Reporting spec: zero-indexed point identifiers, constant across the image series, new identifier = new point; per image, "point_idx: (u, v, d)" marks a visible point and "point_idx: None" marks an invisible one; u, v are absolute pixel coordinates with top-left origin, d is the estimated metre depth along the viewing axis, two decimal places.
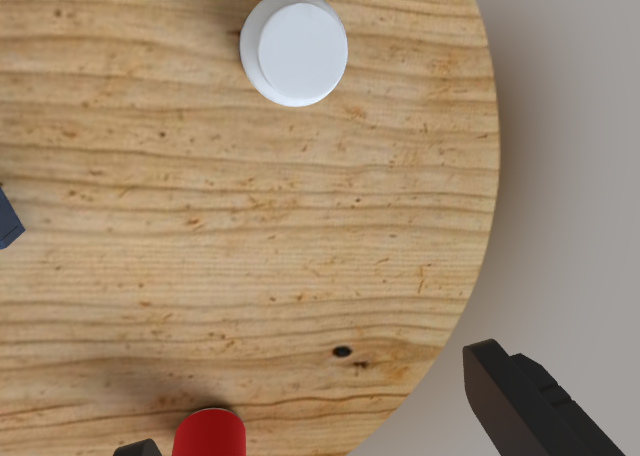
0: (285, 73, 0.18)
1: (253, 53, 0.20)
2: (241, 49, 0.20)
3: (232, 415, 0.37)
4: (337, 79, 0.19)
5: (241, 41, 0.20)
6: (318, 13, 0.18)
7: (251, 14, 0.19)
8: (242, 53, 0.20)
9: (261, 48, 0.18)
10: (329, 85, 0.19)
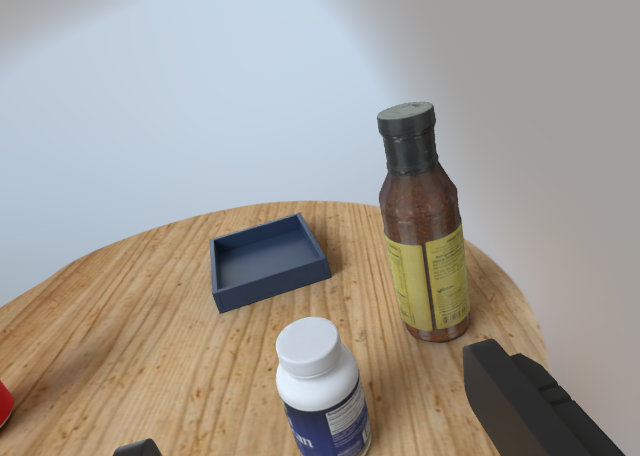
0: (293, 331, 0.26)
1: None
2: None
3: None
4: (289, 359, 0.24)
5: None
6: (332, 340, 0.25)
7: None
8: None
9: (308, 318, 0.27)
10: (285, 355, 0.25)
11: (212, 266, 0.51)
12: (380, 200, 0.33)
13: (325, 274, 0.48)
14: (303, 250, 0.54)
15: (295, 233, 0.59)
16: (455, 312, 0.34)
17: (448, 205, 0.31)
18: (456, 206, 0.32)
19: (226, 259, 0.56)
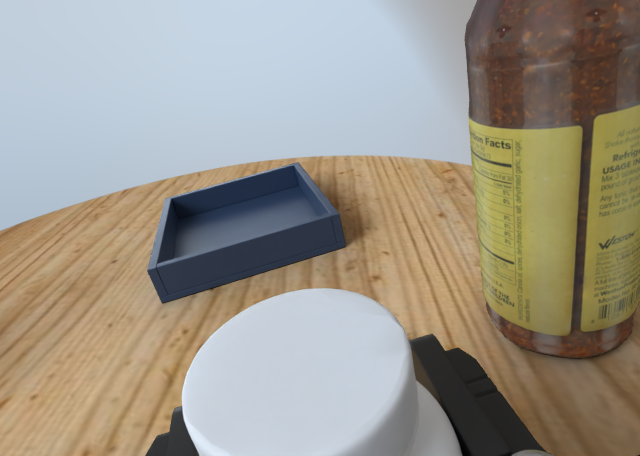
0: (252, 332, 0.08)
1: None
2: None
3: None
4: (218, 448, 0.06)
5: None
6: (390, 367, 0.07)
7: None
8: None
9: (303, 291, 0.09)
10: (205, 428, 0.06)
11: (159, 231, 0.32)
12: (471, 37, 0.15)
13: (336, 242, 0.30)
14: (302, 211, 0.36)
15: (291, 192, 0.41)
16: (626, 295, 0.16)
17: None
18: None
19: (188, 226, 0.38)
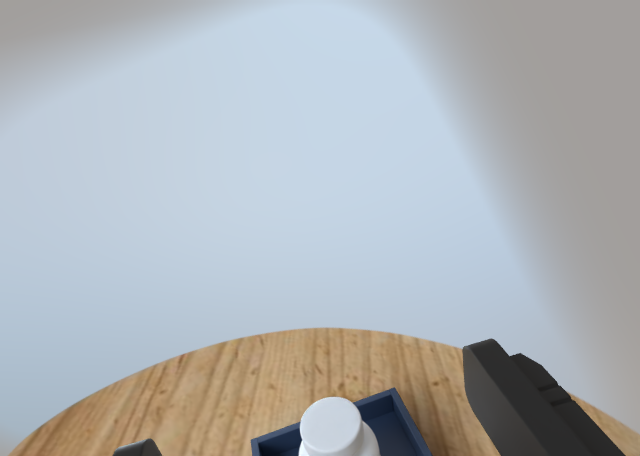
0: (316, 413, 0.27)
1: None
2: None
3: None
4: (314, 447, 0.25)
5: None
6: (355, 426, 0.26)
7: None
8: None
9: (330, 398, 0.28)
10: (309, 442, 0.25)
11: None
12: None
13: None
14: None
15: (389, 425, 0.36)
16: None
17: None
18: None
19: None
